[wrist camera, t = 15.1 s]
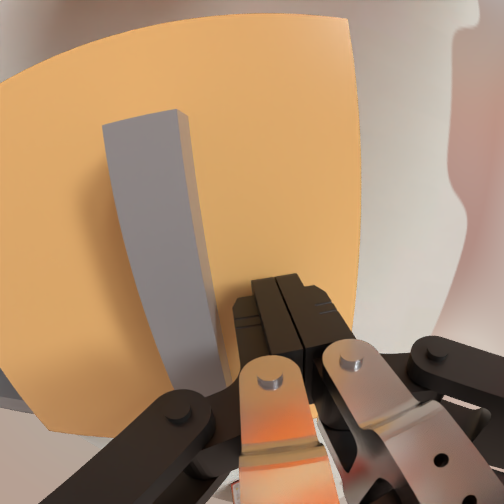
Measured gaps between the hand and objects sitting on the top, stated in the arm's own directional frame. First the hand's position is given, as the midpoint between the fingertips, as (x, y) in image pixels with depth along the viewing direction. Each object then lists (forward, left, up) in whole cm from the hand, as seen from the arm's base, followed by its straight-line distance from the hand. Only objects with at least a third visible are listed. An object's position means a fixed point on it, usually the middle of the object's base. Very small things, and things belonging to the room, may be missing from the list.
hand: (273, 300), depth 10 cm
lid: (0, -6, -2) cm, 6 cm away
